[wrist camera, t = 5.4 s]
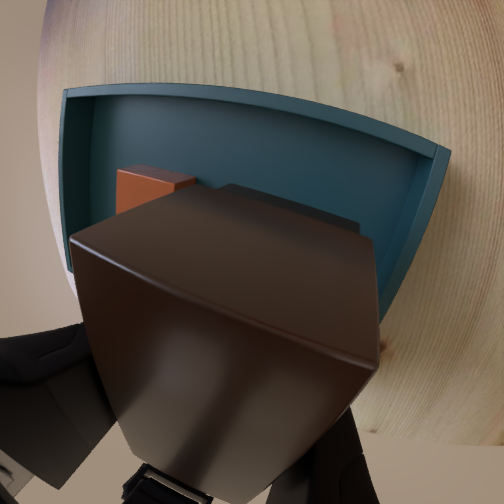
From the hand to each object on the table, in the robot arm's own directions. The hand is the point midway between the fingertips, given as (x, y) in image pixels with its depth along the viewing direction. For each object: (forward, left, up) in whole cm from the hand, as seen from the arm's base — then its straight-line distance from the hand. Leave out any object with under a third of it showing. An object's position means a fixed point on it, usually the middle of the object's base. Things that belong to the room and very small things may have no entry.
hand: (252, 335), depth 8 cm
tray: (-4, +4, -7) cm, 9 cm away
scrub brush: (0, 0, -1) cm, 1 cm away
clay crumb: (-6, +5, -7) cm, 10 cm away
